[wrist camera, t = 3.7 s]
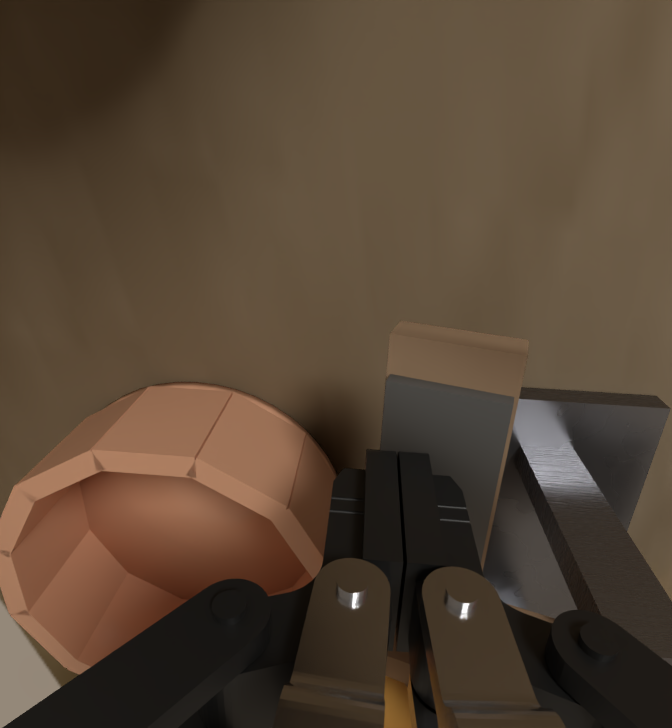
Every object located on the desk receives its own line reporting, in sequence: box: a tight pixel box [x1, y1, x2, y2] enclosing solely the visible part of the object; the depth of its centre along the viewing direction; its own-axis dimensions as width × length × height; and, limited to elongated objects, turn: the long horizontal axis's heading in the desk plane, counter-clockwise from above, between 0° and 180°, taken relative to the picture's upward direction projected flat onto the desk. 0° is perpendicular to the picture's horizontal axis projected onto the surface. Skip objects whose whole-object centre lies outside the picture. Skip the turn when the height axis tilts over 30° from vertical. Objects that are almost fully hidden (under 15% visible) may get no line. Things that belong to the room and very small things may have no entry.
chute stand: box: [483, 387, 672, 666], centre depth 18 cm, size 14×8×10 cm, turn 178°
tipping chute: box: [380, 321, 555, 688], centre depth 14 cm, size 15×13×7 cm
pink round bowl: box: [0, 382, 337, 675], centre depth 21 cm, size 13×13×5 cm
